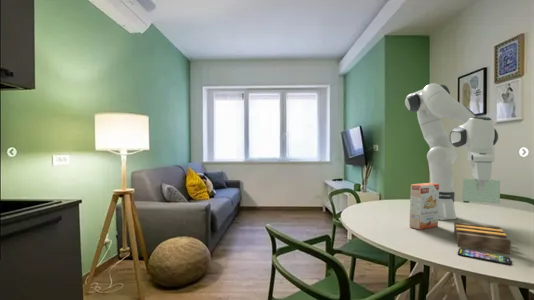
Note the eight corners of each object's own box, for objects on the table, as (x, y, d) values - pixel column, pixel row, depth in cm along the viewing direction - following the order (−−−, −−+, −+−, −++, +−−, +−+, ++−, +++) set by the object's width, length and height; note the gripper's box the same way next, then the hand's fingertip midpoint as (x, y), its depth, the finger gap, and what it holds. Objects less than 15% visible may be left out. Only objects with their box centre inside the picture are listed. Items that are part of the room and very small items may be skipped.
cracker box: (420, 230, 135) (421, 185, 134) (408, 227, 140) (409, 184, 140) (439, 226, 141) (439, 183, 141) (427, 223, 147) (428, 182, 146)
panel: (463, 200, 121) (463, 179, 120) (462, 199, 122) (462, 178, 122) (499, 203, 115) (499, 180, 115) (498, 202, 116) (498, 180, 116)
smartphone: (511, 264, 96) (457, 253, 105) (511, 267, 96) (457, 256, 105) (510, 256, 102) (458, 247, 111) (509, 259, 102) (458, 250, 111)
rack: (457, 246, 114) (458, 233, 114) (454, 232, 131) (454, 221, 131) (510, 254, 106) (510, 239, 106) (498, 238, 124) (499, 226, 123)
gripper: (468, 155, 129) (468, 186, 129) (474, 157, 111) (473, 193, 111) (485, 155, 126) (485, 187, 126) (495, 157, 108) (494, 194, 108)
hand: (480, 190), depth 119 cm, fingers closed on panel, 2 cm apart
